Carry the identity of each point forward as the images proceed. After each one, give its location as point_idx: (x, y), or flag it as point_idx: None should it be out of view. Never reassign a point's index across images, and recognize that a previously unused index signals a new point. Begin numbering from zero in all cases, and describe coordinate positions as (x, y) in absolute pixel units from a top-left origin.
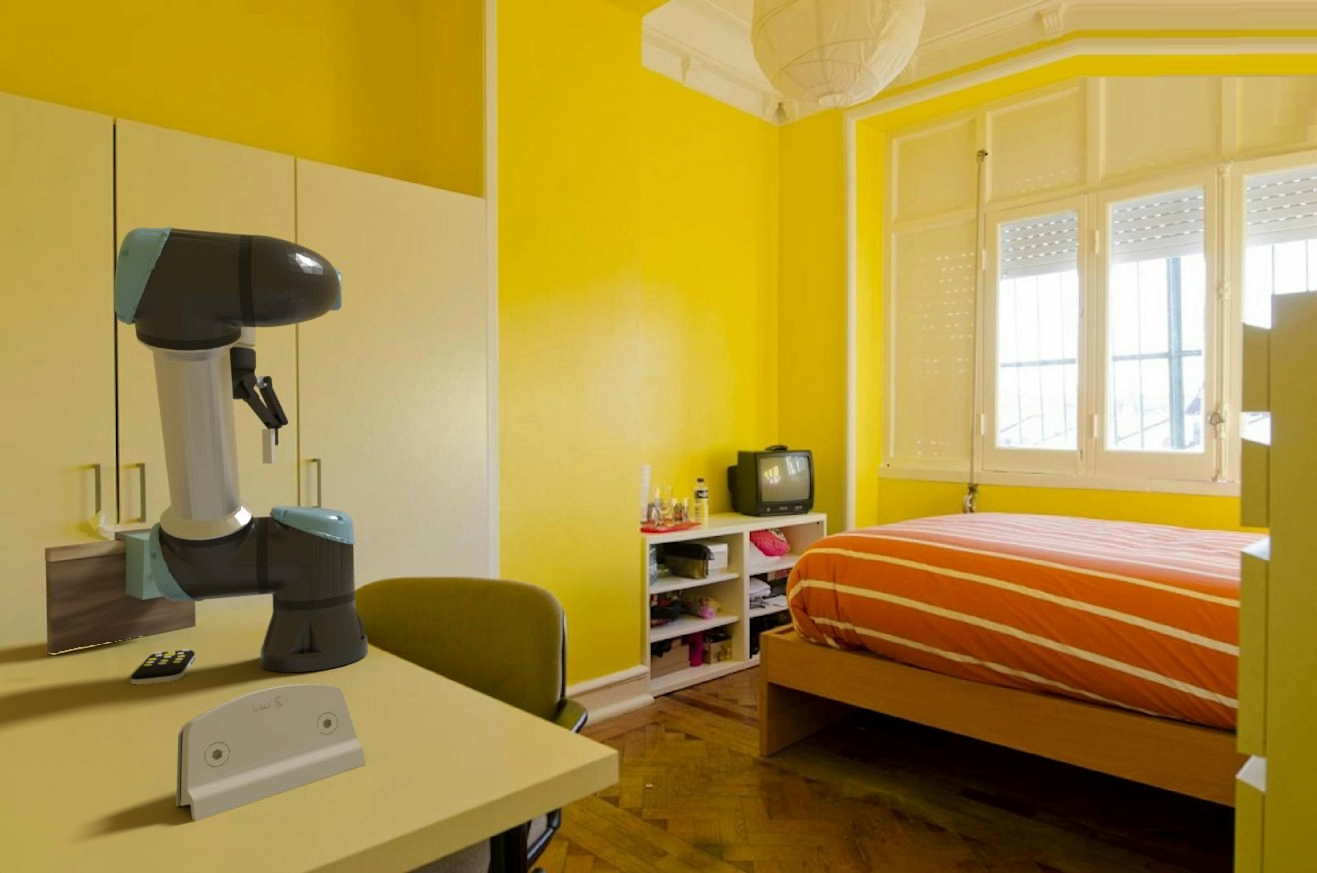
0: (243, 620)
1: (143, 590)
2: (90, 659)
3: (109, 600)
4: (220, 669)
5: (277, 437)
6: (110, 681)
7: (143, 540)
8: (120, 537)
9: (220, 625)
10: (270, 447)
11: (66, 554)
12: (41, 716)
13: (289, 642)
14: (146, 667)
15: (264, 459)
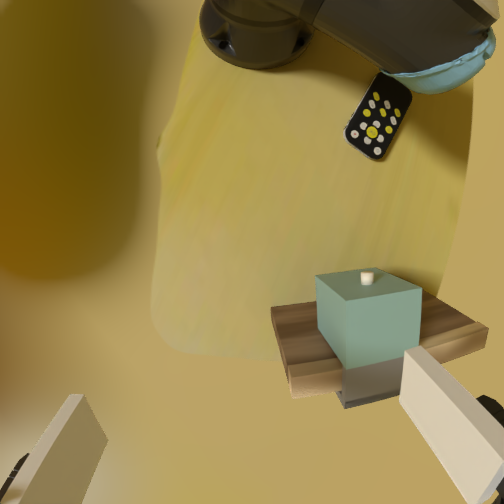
0: (215, 287)
1: (380, 270)
2: (404, 235)
3: None
4: (340, 69)
5: (11, 478)
6: (417, 127)
7: (421, 290)
8: None
9: (248, 283)
10: (58, 446)
11: (470, 328)
12: (461, 85)
13: None
14: (400, 106)
15: (98, 442)
